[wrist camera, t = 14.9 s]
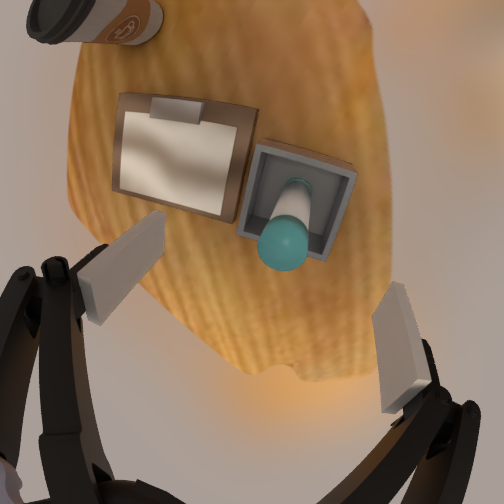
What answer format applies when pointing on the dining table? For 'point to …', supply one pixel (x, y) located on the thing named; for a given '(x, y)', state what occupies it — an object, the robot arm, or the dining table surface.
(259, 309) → the dining table surface
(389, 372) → the robot arm
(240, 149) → the clipboard
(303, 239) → the marker
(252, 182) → the grey open box
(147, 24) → the coffee cup
